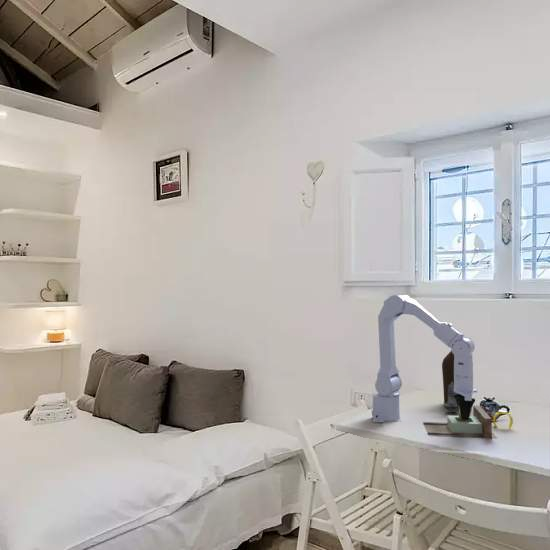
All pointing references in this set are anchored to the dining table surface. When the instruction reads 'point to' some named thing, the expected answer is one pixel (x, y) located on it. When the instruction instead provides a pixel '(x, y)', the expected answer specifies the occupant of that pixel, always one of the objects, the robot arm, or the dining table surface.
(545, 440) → the dining table surface
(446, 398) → the olive oil
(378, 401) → the robot arm
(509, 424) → the watch
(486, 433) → the walnut board
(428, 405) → the dining table surface
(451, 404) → the salt shaker
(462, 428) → the sage socket block
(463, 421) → the oak dowel
